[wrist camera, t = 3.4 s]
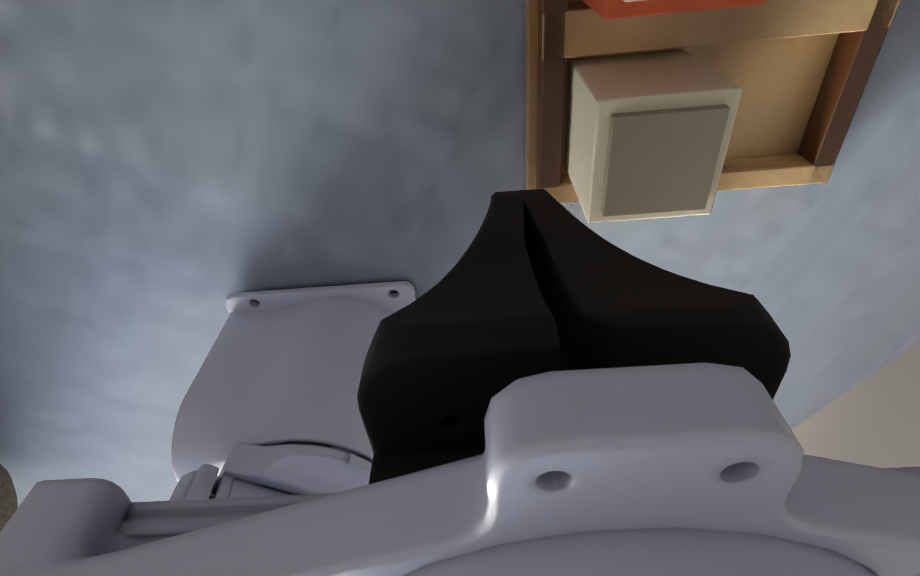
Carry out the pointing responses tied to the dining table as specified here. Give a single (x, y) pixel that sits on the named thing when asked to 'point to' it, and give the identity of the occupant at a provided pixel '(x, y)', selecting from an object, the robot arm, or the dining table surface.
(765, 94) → the divided wooden tray
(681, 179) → the cream panelled block
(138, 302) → the dining table surface
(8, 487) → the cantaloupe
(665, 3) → the red block with panel
